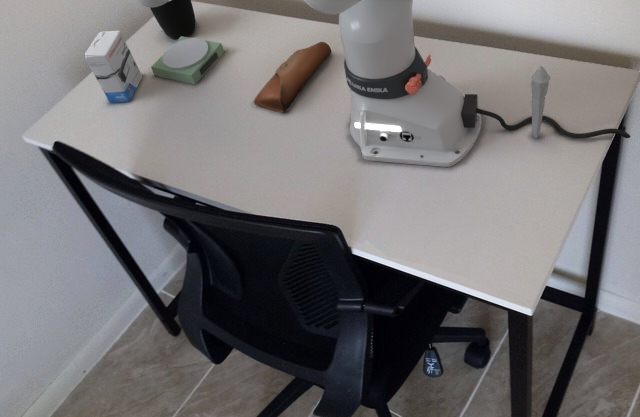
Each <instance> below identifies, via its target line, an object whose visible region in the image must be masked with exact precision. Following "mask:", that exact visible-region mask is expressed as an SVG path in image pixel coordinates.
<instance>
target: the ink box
mask: <svg viewBox="0 0 640 417" xmlns="http://www.w3.org/2000/svg"><path fill="white" fill-rule="evenodd" d="M84 55H85V56H84V59H85V61H86V63H87V64H88V66H89V68H90V70H91V71H92V73H93V75H94V77H95V78H96V79H95V80H96V81H97V82H98V84H99V86H100V88H101V90H102V91H103V93H104V95H105V97H106V99H107V100H108V102H109V103H110V104H114V103H128V102H131V100H132V98H133V96H134V94H135V92H136V90H137V88H138V86H139V84H140V82H141V81H142V78H143V74H142V72H141V70H140V68H139V66H138V65H137V62H136V60H135V58H134V56H133V54H132V51H131V50H130V48H129V45H128V44H127V41H126V40H125V38H124V36H123V34H122V31H121V30H104V31H103V30H102V31H98V33H97V34H96V36H95V38H94V39H93V41H91V43H90V45H89V47H88V48H87V49H86V51H85V53H84Z"/></svg>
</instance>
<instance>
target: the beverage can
mask: <svg viewBox="0 0 640 417" xmlns="http://www.w3.org/2000/svg"><path fill="white" fill-rule="evenodd" d="M168 1H169V0H138V3H139V4H140V5H141V6H143V7H146V8H150V7H158V6H161V5H163V4H165V3H167V2H168Z"/></svg>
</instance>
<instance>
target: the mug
mask: <svg viewBox="0 0 640 417" xmlns="http://www.w3.org/2000/svg"><path fill="white" fill-rule="evenodd" d="M149 9H150V11H151V13H152V14H153V17H154V18H155V20H156V22H157V24H158V25H159V27H160V28H161V30H162V31H163V33H164V34H165V35H166V36H167V37H168V38H170V39H171V40H175V41H177V40H178V39H179V38H180V37H181V36H182V37H188V38H189V37H190V36H191V35H193V34H194V32H195V30H196V27H197V21H196V14H195V10H194V6H193V3H192V0H169V1H168V2H167V3H165V4H163V5H161V6H158V7H149Z"/></svg>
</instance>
